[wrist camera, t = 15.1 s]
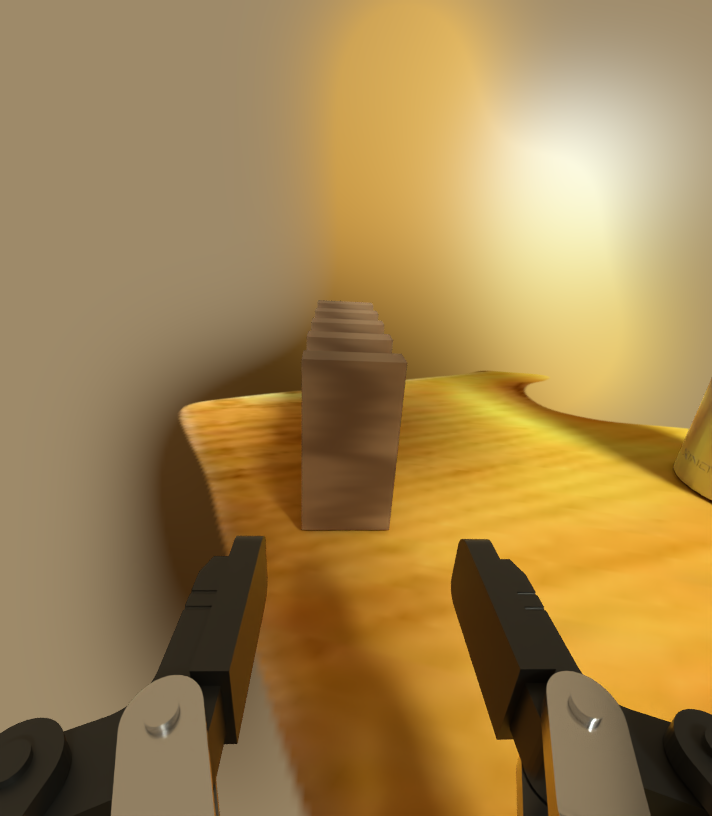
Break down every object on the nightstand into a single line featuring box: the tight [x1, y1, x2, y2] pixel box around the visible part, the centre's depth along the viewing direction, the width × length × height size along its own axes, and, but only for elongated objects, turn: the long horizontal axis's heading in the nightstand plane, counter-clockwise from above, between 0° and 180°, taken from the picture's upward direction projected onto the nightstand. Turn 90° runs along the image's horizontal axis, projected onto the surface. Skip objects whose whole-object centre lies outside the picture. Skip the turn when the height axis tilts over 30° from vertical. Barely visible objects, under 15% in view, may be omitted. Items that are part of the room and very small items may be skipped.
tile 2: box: [307, 331, 393, 354], centre depth 25 cm, size 5×2×10 cm, turn 93°
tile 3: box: [311, 318, 384, 334], centre depth 29 cm, size 5×2×10 cm, turn 93°
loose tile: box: [302, 350, 407, 530], centre depth 21 cm, size 5×2×10 cm, turn 94°
